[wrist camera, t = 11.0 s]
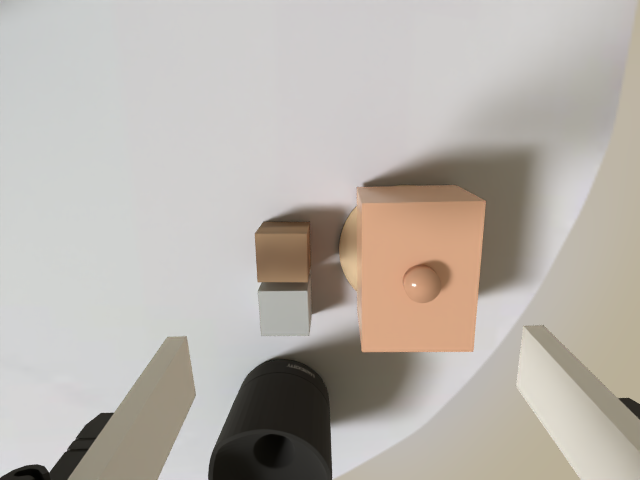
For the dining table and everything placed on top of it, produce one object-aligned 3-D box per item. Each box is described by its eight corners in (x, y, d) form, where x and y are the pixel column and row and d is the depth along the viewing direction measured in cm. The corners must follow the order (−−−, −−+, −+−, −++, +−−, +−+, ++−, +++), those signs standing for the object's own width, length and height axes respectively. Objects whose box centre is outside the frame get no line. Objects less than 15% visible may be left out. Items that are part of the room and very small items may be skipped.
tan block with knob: (356, 187, 34) (362, 206, 26) (455, 184, 33) (491, 203, 26) (357, 309, 37) (362, 359, 29) (447, 309, 36) (477, 359, 29)
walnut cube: (263, 221, 36) (254, 233, 32) (309, 221, 35) (306, 233, 32) (265, 265, 37) (257, 282, 33) (310, 265, 36) (307, 282, 33)
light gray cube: (265, 273, 37) (257, 291, 33) (310, 273, 37) (307, 290, 33) (268, 314, 38) (261, 335, 34) (311, 313, 38) (309, 335, 34)
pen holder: (349, 413, 41) (354, 504, 31) (268, 449, 42) (248, 545, 32) (303, 337, 38) (292, 410, 29) (218, 378, 40) (181, 459, 30)
